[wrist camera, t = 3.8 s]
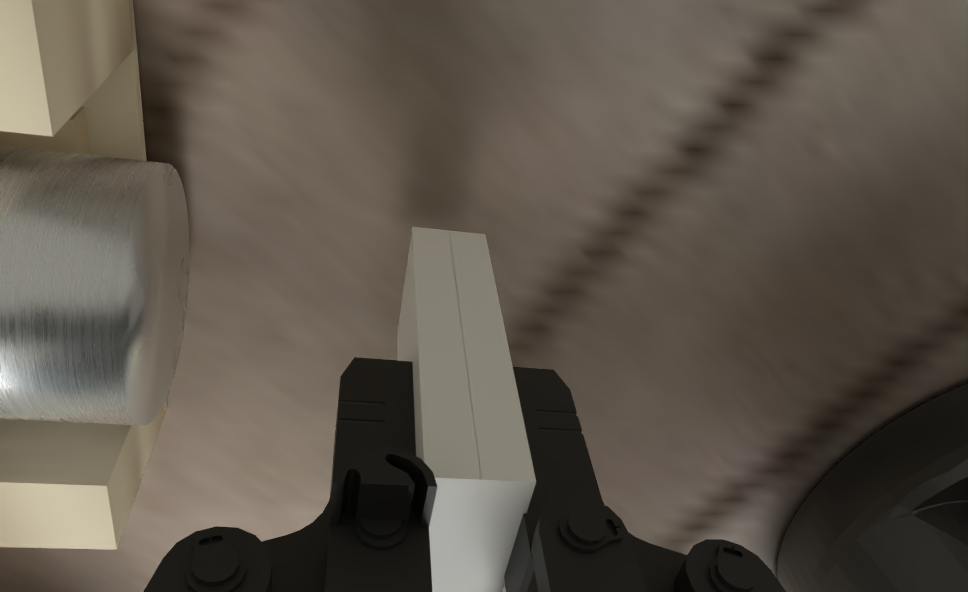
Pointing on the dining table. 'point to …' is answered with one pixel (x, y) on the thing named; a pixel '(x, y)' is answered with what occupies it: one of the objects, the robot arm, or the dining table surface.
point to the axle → (89, 286)
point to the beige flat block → (91, 131)
